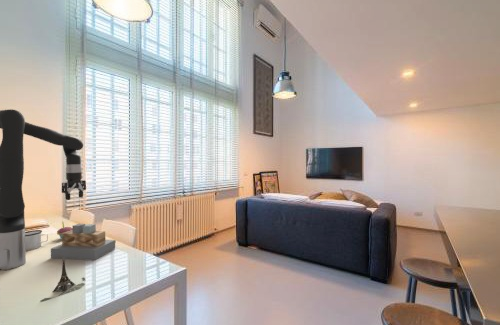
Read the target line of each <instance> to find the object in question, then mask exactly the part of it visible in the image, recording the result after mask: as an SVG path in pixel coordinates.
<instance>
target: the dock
mask: <svg viewBox="0 0 500 325" xmlns="http://www.w3.org/2000/svg"><path fill="white" fill-rule="evenodd" d="M116 243H117V240H116V239H105V243H104V244H102V245H100V246H98V247H93V246H67V245H62V243H61V244H59V245H56V246H54V247H51V248H50V258H51V259H62V260H63V258H64V259H65V260H66V259H67V260H82V261H83V260H87V261H95V260H97V259H99V258H101V257H102V256H105V255H106V254H108V253H110V252H111V250H112V251H114V250H115V249H116ZM113 249H114V250H113Z"/></svg>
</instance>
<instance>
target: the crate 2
mask: <svg viewBox="0 0 500 325" xmlns="http://www.w3.org/2000/svg"><path fill="white" fill-rule="evenodd" d="M96 231H97V230H96V223H87V224H85V226H83V234H91V233H93V232H96Z"/></svg>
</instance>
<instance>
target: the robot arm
mask: <svg viewBox="0 0 500 325" xmlns="http://www.w3.org/2000/svg"><path fill="white" fill-rule="evenodd" d="M0 129H1V131H2V132H1V133H2V139H1V142H0V269H1V270H3V271H9V270H10V269H15V268H18V267H21V266H23V265H25V264H26V262H27V261H26V260H27V258H26V255H27V254H26V250H25V232H26V223H25V222H26V219H25V208H26V206H25V201H24V195H23V182H24V181H23V180H24V172H25V171H24V170H25V164H24V163H25V161H24V160H25V159H24V135H26V136H29V137H32V138H35V139H39V140H41V141H45V142H47V143H49V144H53V145H55V146H62V149H63V152H64V155H65V160H66V162H65V164H66V166H65V179H66V182H61V193H62V194H65V196H64V197H65V198H64V199H65V200H66V201H69V200H71V192H72V191H73V190H75V189H76V190H78V198H83V197H84V191H85V190H87V182H86V180H82V178H83V175H82V174H83V173H82V171H83V170H82V169H83V168H82V159H81V158H82V157H81V155H79V154H78V153H77V151H80V150H82V149H83V148H84V143H83V141H82V139H81V140H80V139H79V138H77V137H73V136H69V135H66V134H63V133H61V132H58V131H56V130H53V129H50V128H47V127H43V126H39V125H36V124H33V123H29V122H26V120H25V117H24V115H23V113H22V112H20V111H19V110H16V109H11V108H10V109H2V110H0Z"/></svg>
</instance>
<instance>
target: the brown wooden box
mask: <svg viewBox="0 0 500 325" xmlns="http://www.w3.org/2000/svg"><path fill="white" fill-rule="evenodd" d="M105 240H106V231H105V230H96V232H93V233H91V234H83V232H81V233H73V230H70V231H67V232H65V233H62V239H61V241H62V242H61V244H62V245H67V246H93V247H98V246H100V245H102V244H104V243H105Z"/></svg>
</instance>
